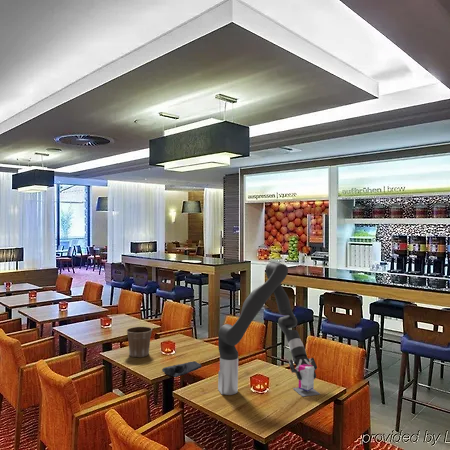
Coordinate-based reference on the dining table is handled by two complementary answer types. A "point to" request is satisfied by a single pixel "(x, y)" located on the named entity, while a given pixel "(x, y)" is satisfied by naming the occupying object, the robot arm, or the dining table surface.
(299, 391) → the mat
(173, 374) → the dark slate chunk
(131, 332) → the plant pot
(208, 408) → the dining table surface
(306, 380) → the supplement box
